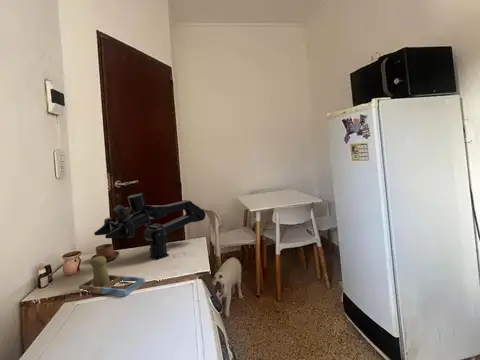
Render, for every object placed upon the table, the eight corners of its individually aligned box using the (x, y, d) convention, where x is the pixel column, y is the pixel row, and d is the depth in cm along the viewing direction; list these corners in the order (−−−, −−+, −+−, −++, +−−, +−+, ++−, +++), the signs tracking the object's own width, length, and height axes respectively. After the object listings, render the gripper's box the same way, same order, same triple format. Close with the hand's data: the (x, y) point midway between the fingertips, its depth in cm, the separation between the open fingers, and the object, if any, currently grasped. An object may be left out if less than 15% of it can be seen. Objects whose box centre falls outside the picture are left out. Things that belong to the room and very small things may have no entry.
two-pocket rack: (79, 291, 121) (78, 285, 121) (101, 279, 131) (101, 274, 131) (125, 296, 114) (124, 290, 113) (145, 283, 123) (144, 277, 123)
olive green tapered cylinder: (104, 289, 121) (100, 260, 119) (89, 289, 122) (85, 260, 121) (114, 282, 127) (110, 254, 125) (99, 282, 128) (95, 254, 126)
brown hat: (93, 257, 159) (91, 245, 158) (120, 253, 163) (118, 240, 162) (90, 266, 148) (88, 252, 147) (119, 260, 152) (117, 247, 151)
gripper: (118, 201, 147) (83, 214, 136) (141, 203, 135) (105, 218, 124) (125, 225, 150) (91, 239, 139) (148, 229, 137) (113, 246, 126)
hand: (99, 235), depth 132 cm, fingers open, 9 cm apart
